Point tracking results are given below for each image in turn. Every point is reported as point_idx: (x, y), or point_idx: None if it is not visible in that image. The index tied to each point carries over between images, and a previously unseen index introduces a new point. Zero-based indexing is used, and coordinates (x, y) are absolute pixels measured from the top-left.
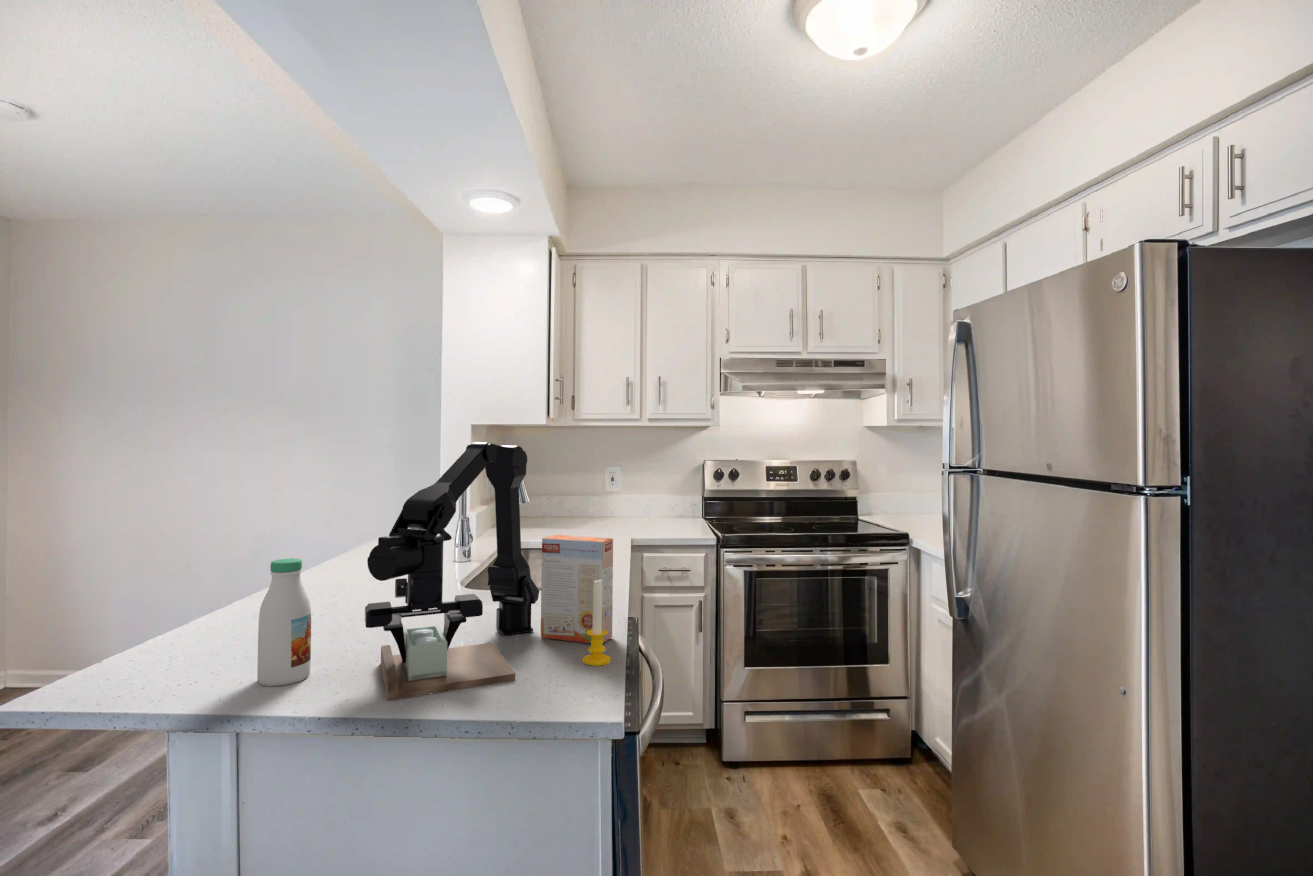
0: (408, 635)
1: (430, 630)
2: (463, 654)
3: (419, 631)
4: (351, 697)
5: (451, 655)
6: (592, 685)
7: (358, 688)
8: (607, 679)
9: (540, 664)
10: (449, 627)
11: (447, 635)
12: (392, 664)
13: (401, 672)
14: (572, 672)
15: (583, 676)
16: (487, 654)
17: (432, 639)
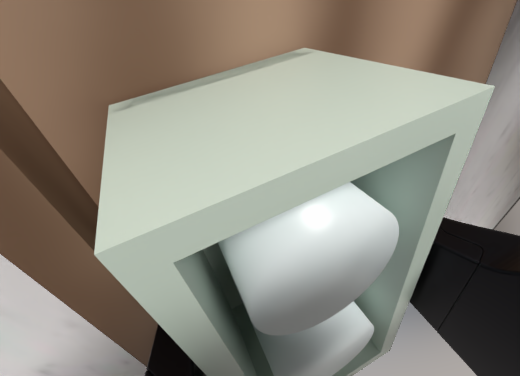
0: (237, 370)
1: (386, 233)
2: (402, 53)
3: (311, 270)
4: (46, 358)
5: (360, 56)
6: (481, 218)
7: (17, 314)
8: (508, 197)
9: (502, 120)
10: (464, 356)
11: (420, 309)
12: (151, 329)
13: None
14: (502, 170)
15: (499, 187)
16: (461, 73)
17: (355, 344)
